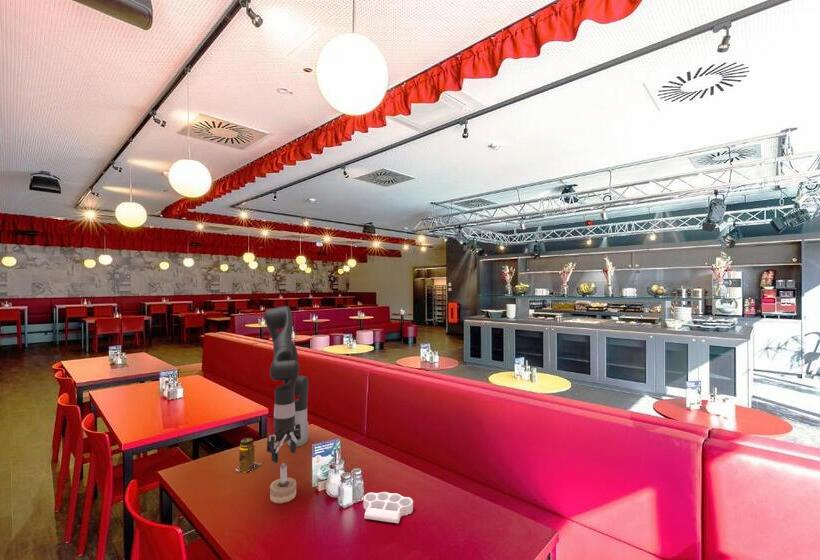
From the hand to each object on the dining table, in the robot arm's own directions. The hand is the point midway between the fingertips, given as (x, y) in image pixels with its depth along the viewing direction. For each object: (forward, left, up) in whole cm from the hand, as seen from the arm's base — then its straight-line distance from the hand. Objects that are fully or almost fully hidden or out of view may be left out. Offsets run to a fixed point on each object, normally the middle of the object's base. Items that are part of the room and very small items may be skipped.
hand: (284, 457), depth 140 cm
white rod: (0, 0, -14) cm, 14 cm away
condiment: (-8, -30, -15) cm, 34 cm away
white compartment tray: (-12, +38, -15) cm, 43 cm away
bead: (0, 0, -14) cm, 14 cm away
